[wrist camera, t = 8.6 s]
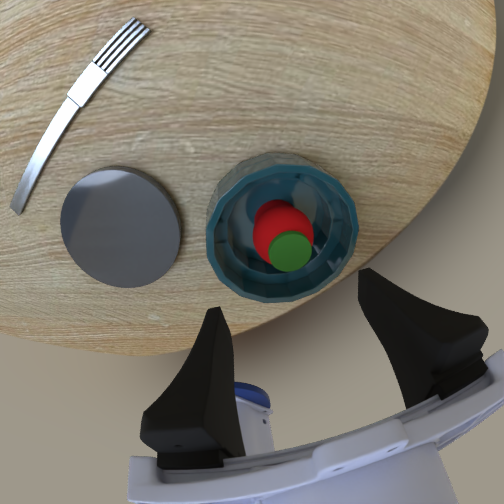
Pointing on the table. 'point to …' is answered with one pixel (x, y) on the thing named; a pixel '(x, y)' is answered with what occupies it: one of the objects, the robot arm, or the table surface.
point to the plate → (121, 227)
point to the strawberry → (283, 235)
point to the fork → (77, 104)
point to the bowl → (242, 224)
